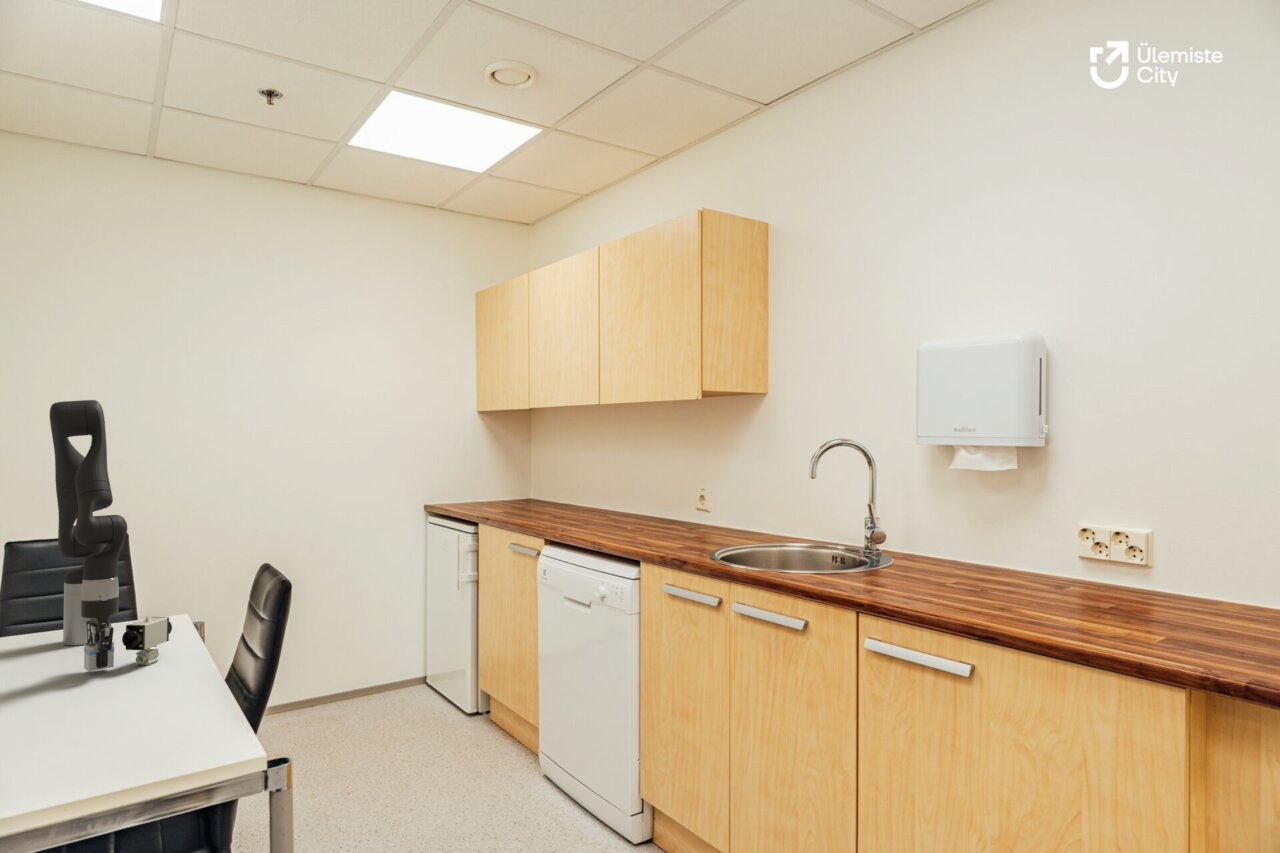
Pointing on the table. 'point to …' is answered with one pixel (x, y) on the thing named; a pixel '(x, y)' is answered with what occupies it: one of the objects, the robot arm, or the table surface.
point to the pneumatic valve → (147, 638)
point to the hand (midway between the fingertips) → (99, 664)
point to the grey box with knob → (91, 657)
